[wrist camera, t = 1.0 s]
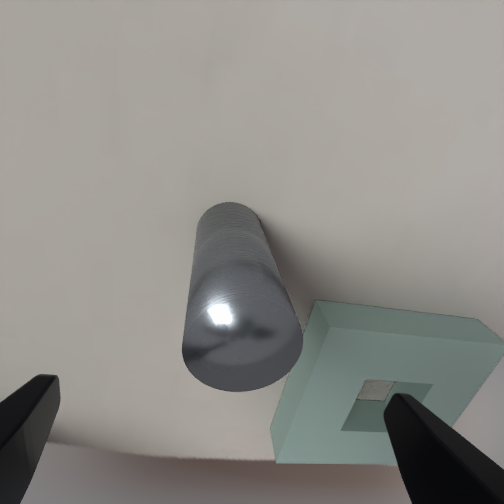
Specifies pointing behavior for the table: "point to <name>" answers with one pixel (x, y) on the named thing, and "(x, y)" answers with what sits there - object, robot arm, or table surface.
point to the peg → (237, 306)
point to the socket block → (375, 378)
